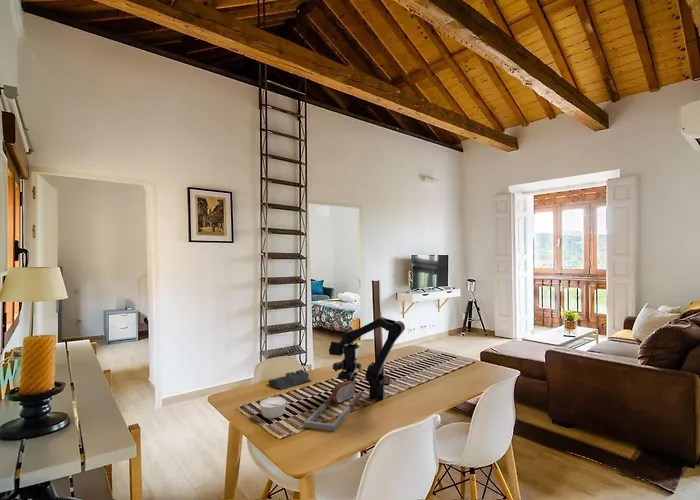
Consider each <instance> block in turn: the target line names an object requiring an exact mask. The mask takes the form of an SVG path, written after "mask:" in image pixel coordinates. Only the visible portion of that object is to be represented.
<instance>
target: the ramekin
mask: <svg viewBox="0 0 700 500" xmlns="http://www.w3.org/2000/svg"><path fill="white" fill-rule="evenodd" d="M286 405H287V401H286V399H285V398H284V397H280V396H279V397H278V396H277V397H275V396H272V397H268V398H265V399H263V400H261V401H260V403H259V408H260V411H261V415H262V416H263V418H265V419H277V418H279V417H282V416H283V415H284V413H285V410H286Z"/></svg>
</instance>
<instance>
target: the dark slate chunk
mask: <svg viewBox="0 0 700 500" xmlns="http://www.w3.org/2000/svg"><path fill="white" fill-rule="evenodd" d="M309 375H310V374H309V373H308V372H306V371H305V370H303V369H299V370H295V372H294V371H291V372H287V373H285V376H281V377H278V378H277V377H276V378H273V379H270V380H268V384H270V385H271V386H272V387H274V388H275V389H276V390H280V391H282V390H287V389H290V388H293V387H297V386H301V385H304V384H308V383H311V382H312V380H311V379H309Z"/></svg>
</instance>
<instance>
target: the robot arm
mask: <svg viewBox="0 0 700 500" xmlns="http://www.w3.org/2000/svg"><path fill="white" fill-rule="evenodd" d="M378 328H382V329H384V330H385V331H387V332H388V333H387V338H386V340H385V342H384V344H383V346H382V348H381V350H380V351H379V353H378V356H377V358H376V359H375V361H372V362H371V363H370V364H369V365H368V366H367V369H366V371H365V378H366V381H367V383H368V385H369V387H368V388H369V389H368V390H369V391H368V392H369V393H368V395H369V399H371V400H380V401H382V400H384V398H385V397H386V394H385V381H386V377H385V376H384V374H383V373H382V372H383V367H384V364H385V363H386V360H387V358H388V357H389V354H390V353H391V350H393V348H394V347H393V346H394V345H395V342H396V341H397V340H398V338H399V337H401V335H402V334H403V332H404V331H405V329H406V326H405V324H404V322H403V321H401V320H397V321H396V320H395V319H389V318H386V317H384V316H380V317H378V318H377V319H376V320H373V321H371V322H369V323H367V324H365V325H363V326H362V327H358V328H353V329H351V330H349V331H346V332H345V333H343V334H342V337H341V340H340V341H335V340H332V341H331V342H330V345H329V349H328V354H329V355H330V356H339V357H341V356H344V357H343V359H342V360H340V361H337V362H334V363H333V365H332V369H333V370H334V372H338V371H340V370H341V371H340V372H339V373H338V374H337V379H339V380H345V381H347V380H350V381H352V382H354V383H355V380H357V379H356V378H357V376H358V374H359V373H358V372H357V371H356V370H358V371H361V370H362V364H361V363H359V362H357V361H358V357H357V355H356V351H357V349H359V348H360V347H361V346H360V345H359V344H358V343H357V342H355V341H357V340H358V339H360V338H361V337H362V336H364V335H365V334H367V333H369V332H371V331H374V330H376V329H378ZM354 342H355V343H354ZM352 343H353V344H352Z"/></svg>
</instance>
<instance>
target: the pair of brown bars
mask: <svg viewBox="0 0 700 500" xmlns="http://www.w3.org/2000/svg"><path fill="white" fill-rule="evenodd" d="M362 397H363V392H362V391H358V392H357V393H356V395H354V396H353V397H352V399H351V401H350V402H349V403H348V406H350V410H352V409H353V408H355V406H356V405H357V403H358V402H359V401H360V400H361V398H362ZM333 402H334V401H333V400H332V394H331V395H330V396H329V397H327V399H325V401H324V403H325V404H326V407H329V406H330V405H331V404H332V403H333ZM355 404H356V405H355Z"/></svg>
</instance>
